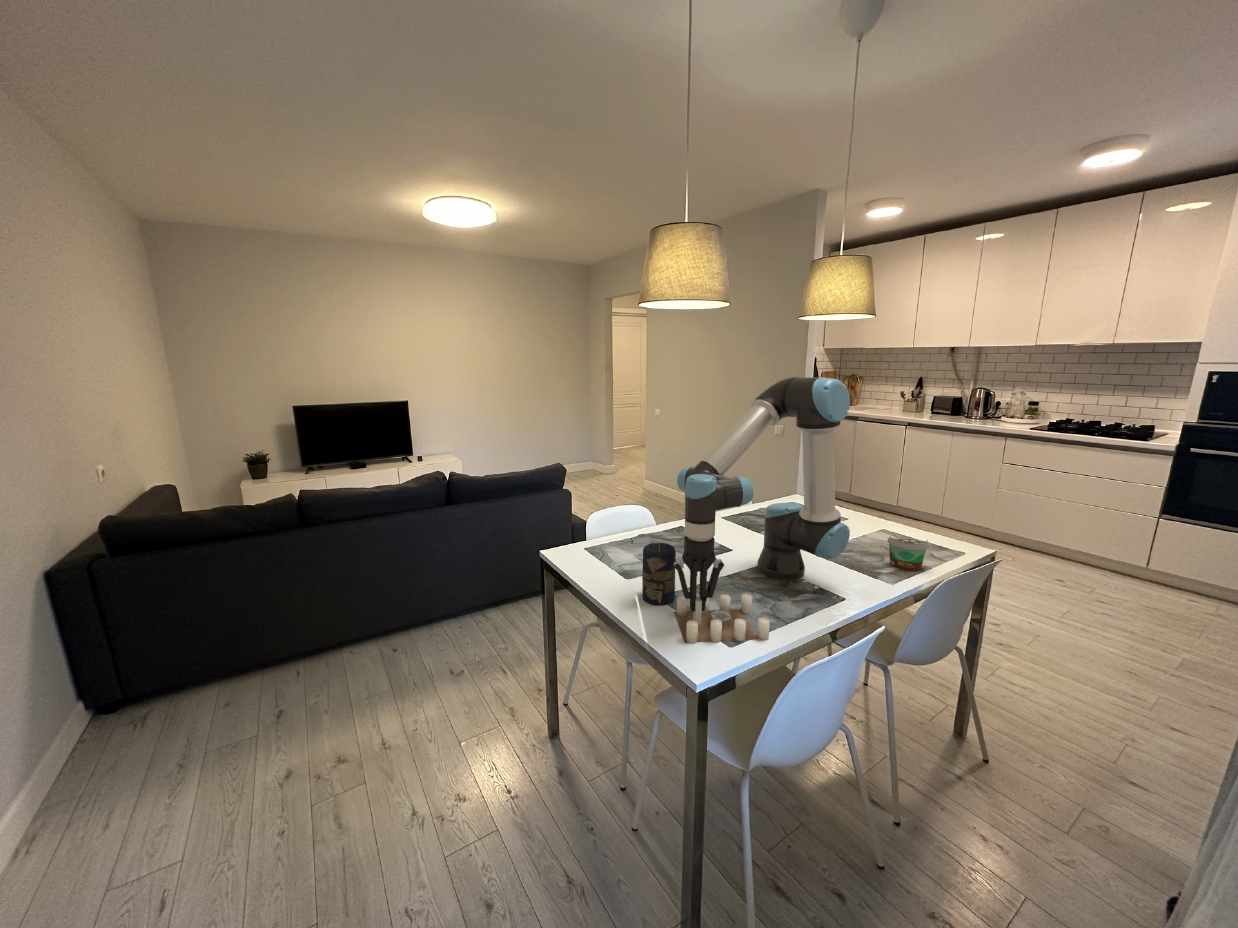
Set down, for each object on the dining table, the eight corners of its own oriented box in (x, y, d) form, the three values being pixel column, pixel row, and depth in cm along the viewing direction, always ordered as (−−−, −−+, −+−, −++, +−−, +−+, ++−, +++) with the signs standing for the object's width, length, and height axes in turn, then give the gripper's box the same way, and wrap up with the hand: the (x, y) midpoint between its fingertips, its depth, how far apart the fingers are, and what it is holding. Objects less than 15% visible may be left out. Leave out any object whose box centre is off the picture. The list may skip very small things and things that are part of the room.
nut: (726, 618, 128) (726, 609, 128) (732, 629, 123) (733, 620, 122) (708, 619, 128) (708, 610, 127) (714, 630, 122) (714, 621, 122)
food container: (887, 569, 161) (890, 541, 159) (884, 562, 166) (887, 535, 164) (930, 574, 156) (934, 546, 154) (925, 567, 162) (929, 539, 160)
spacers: (749, 608, 134) (750, 593, 133) (770, 640, 118) (771, 623, 117) (675, 611, 132) (676, 596, 131) (687, 643, 117) (687, 626, 116)
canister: (637, 606, 138) (637, 547, 134) (647, 591, 146) (648, 536, 143) (670, 611, 134) (671, 551, 131) (678, 596, 143) (679, 540, 139)
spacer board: (765, 612, 134) (765, 608, 134) (787, 642, 119) (787, 637, 119) (673, 615, 132) (673, 611, 132) (684, 646, 117) (684, 642, 117)
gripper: (720, 530, 124) (717, 613, 129) (671, 531, 123) (670, 615, 128) (729, 540, 117) (725, 628, 121) (676, 542, 116) (675, 630, 121)
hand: (697, 621), depth 125 cm, fingers closed
